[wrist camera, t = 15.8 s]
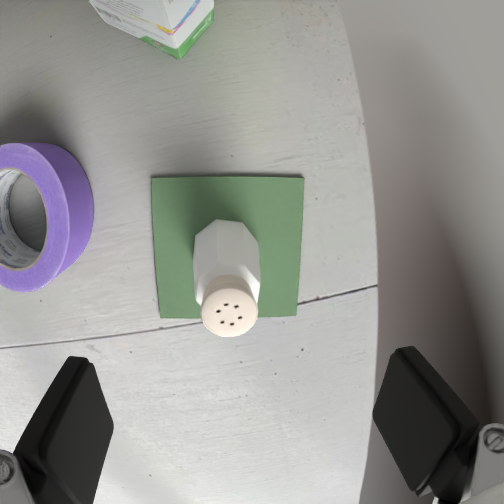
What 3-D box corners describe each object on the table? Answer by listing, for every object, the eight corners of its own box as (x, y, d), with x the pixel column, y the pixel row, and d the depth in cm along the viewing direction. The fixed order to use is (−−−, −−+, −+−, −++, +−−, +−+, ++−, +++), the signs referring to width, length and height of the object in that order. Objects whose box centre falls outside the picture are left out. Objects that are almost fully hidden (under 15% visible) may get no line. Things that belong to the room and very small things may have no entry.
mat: (303, 177, 25) (304, 178, 24) (295, 314, 28) (296, 315, 28) (152, 177, 23) (151, 178, 23) (161, 316, 27) (160, 318, 26)
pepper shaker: (183, 228, 24) (156, 277, 14) (249, 209, 25) (272, 246, 14) (202, 289, 26) (194, 370, 15) (265, 272, 26) (295, 344, 16)
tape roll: (110, 259, 25) (88, 280, 20) (15, 281, 24) (-12, 301, 20) (79, 124, 21) (51, 118, 17) (-14, 167, 21) (-46, 172, 16)
